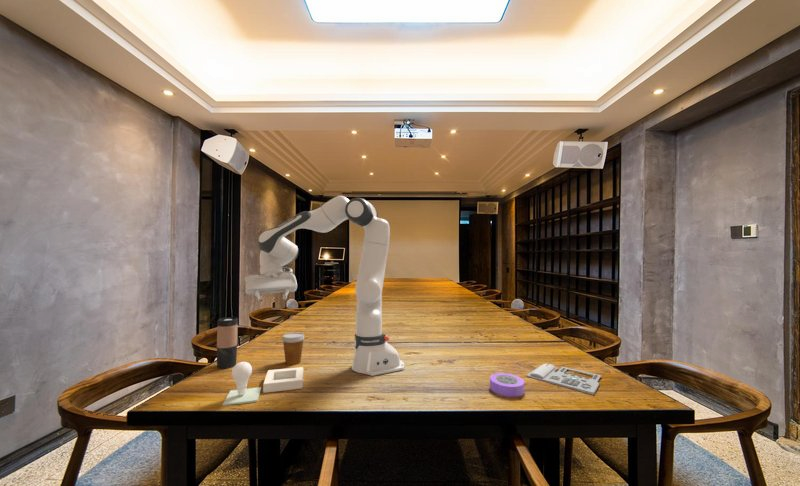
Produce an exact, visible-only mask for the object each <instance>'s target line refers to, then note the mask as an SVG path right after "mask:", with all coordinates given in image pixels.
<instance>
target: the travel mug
mask: <svg viewBox="0 0 800 486" xmlns="http://www.w3.org/2000/svg"><path fill="white" fill-rule="evenodd" d="M238 320H239V319H238V317H236V316H229V317H228V316H227V317H221V318H219V319H218V320H217V328H216V330H217V331H216V333H217V334H216V368H217V369H219V370H226V369H231V368H233V367H234V366H235V365H236V364H237V359H238V358H237V354H238V326H239V325H238Z"/></svg>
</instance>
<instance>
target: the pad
mask: <svg viewBox="0 0 800 486" xmlns="http://www.w3.org/2000/svg"><path fill="white" fill-rule="evenodd" d="M262 390H263V389H262V386H259V387H252V388H251V387H250V388H246V393H245V394H244V395H238V391H237V389H231V390H229V392H228V394H227V395H226V397H225V398H224V401H223V403H222V407H227V406H234V405H242V404H251V403H257V402H258V401H259V398H260V394H261V391H262Z"/></svg>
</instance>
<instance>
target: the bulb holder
mask: <svg viewBox="0 0 800 486" xmlns="http://www.w3.org/2000/svg"><path fill="white" fill-rule="evenodd" d="M303 385H304V367H303V366H300V367H288V368H280V369H279V368H278V369H269V370H267V372H266V375H265V379H264V381H263V389H262V393H263V394H264V393H265V394H266V393H274V392H281V391H291V390H292V391H293V390H301V389H303Z"/></svg>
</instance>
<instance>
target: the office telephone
mask: <svg viewBox="0 0 800 486" xmlns="http://www.w3.org/2000/svg"><path fill="white" fill-rule="evenodd" d="M557 369H558V367H557V366H555V365H554V364H551V363H543V364H541V365H539V366H538V367H536V368H535V369H533V370H532V371H531V370H530V372H529V373H527V374H526V377H527V378H530V377H531V379H534V380H537V381H541V382H545V383H547V384H548V383H549V384H553V385H557V386H559V387H563V388H567V389H571V390H574V391H578V392H581V393H584V394H588V395H592V396H594V395H595V394H596V392H597V390H598V389H599V386H600V383H599V382H600V380H601V379H602V377H603V376H602V375H600V374H597V373H592V372H587V371H584V370H583V371H582V370H578V369H576V368H575V369H574V368H569V367H566V366H561V368H559V370H557ZM556 370H557V371H556ZM567 370H569V371H567ZM572 371H574V372H573V373H576V372H579V373H578V374H580V373H583V374H582V375H585V374H586V375H585V376H589V375H590V377H591V378H589V377H585V376H584V377H583V376H581V375H576V374H572V373H571V374H570V373H568V372H572ZM600 378H601V379H600ZM599 379H600V380H599Z"/></svg>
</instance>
